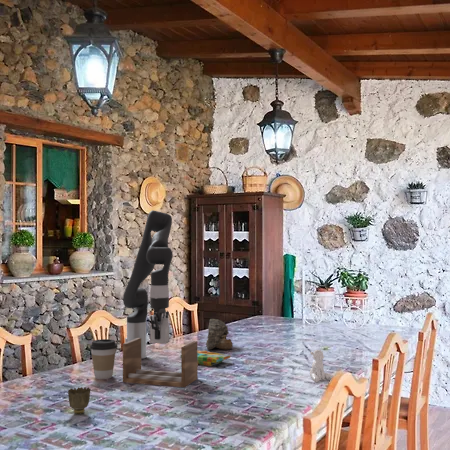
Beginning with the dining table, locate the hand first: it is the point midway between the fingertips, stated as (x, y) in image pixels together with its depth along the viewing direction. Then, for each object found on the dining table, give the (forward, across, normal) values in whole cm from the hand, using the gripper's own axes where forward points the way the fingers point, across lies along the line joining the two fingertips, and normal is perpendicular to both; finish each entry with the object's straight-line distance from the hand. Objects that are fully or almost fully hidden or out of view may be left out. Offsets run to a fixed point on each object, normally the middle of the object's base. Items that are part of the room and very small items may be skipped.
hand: (159, 338), depth 248 cm
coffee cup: (+18, +1, -25) cm, 31 cm away
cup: (+18, +48, -8) cm, 52 cm away
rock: (+18, -71, +1) cm, 73 cm away
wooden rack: (+17, -1, 0) cm, 17 cm away
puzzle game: (+18, -38, +6) cm, 43 cm away
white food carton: (+2, 0, 0) cm, 2 cm away
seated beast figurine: (+18, -23, +61) cm, 67 cm away
